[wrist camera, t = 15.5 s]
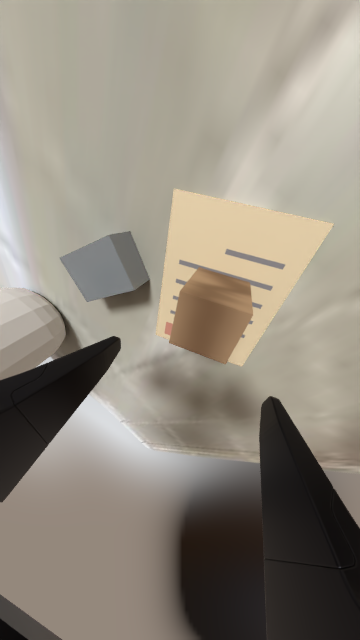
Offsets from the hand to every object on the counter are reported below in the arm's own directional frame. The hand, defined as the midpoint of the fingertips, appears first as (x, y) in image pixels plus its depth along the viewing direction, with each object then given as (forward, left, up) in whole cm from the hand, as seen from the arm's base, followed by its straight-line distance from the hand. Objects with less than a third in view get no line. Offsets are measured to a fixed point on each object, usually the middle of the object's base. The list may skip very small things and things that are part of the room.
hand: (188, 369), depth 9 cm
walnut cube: (0, 0, -10) cm, 10 cm away
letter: (0, 0, -10) cm, 10 cm away
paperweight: (+12, 0, -10) cm, 15 cm away
